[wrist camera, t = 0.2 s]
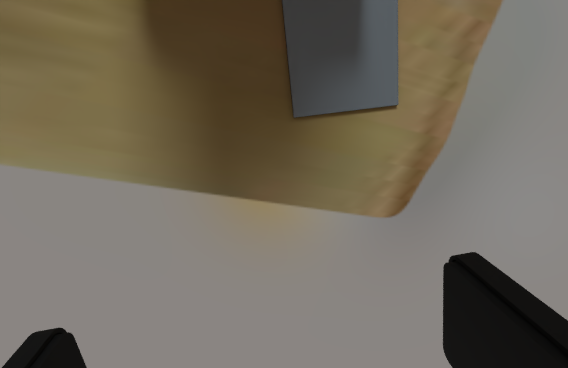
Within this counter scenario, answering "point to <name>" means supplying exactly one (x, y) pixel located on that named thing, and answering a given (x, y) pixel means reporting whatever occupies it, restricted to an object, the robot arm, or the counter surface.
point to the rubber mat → (341, 54)
